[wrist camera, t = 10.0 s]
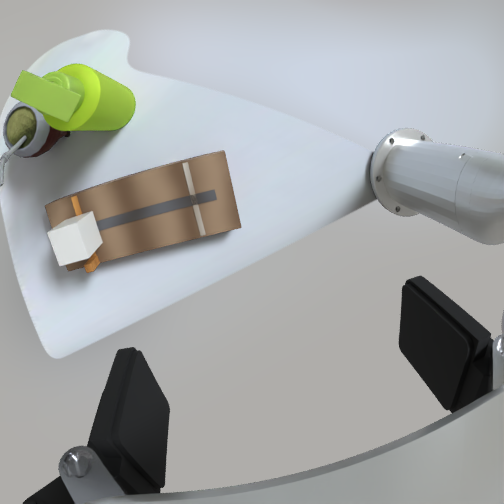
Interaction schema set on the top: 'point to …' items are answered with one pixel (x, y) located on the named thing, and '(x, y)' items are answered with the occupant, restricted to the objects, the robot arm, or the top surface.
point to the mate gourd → (27, 134)
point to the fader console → (154, 207)
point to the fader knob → (75, 238)
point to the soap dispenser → (77, 99)
